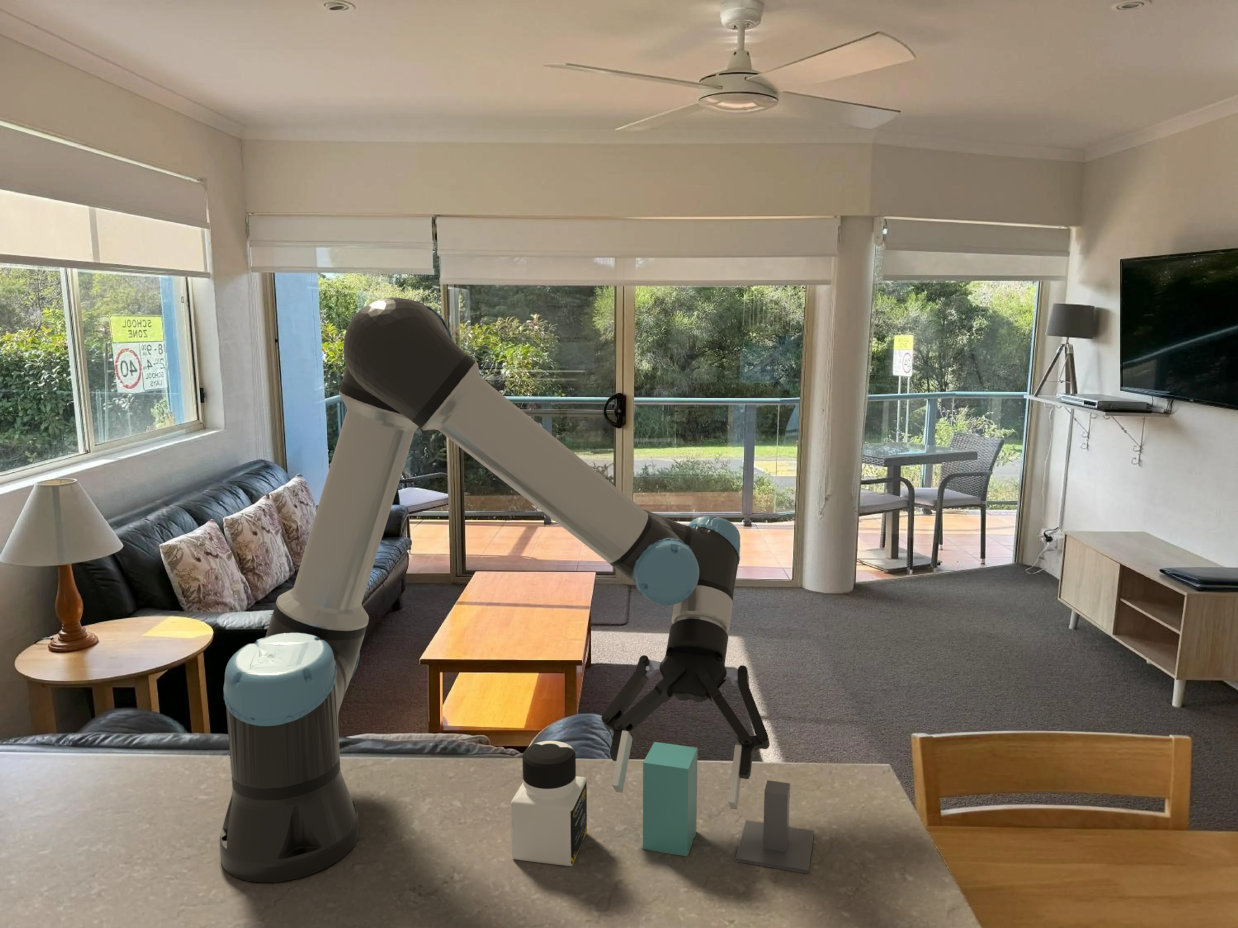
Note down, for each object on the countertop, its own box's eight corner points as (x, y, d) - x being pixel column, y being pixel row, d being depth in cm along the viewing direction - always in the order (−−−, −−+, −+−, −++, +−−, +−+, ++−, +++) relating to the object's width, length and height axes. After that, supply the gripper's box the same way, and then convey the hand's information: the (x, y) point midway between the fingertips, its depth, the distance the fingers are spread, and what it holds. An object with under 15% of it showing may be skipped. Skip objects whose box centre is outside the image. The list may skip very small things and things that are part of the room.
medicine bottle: (572, 867, 98) (571, 766, 96) (511, 860, 99) (508, 760, 98) (587, 832, 105) (586, 737, 103) (530, 825, 106) (528, 731, 104)
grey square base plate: (735, 861, 99) (736, 799, 98) (746, 822, 107) (747, 765, 106) (808, 873, 97) (810, 810, 96) (813, 833, 104) (815, 775, 103)
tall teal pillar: (642, 848, 102) (643, 762, 100) (653, 824, 106) (654, 741, 105) (687, 856, 100) (688, 768, 98) (696, 831, 105) (697, 747, 103)
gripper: (799, 650, 113) (785, 822, 101) (612, 633, 120) (578, 791, 108) (797, 624, 107) (781, 803, 95) (600, 607, 114) (563, 772, 102)
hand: (673, 797), depth 102 cm, fingers open, 13 cm apart
